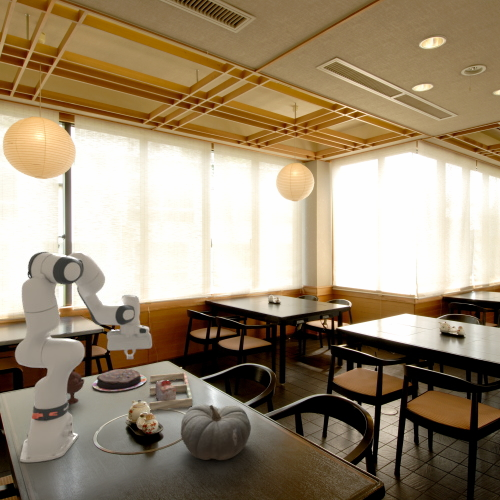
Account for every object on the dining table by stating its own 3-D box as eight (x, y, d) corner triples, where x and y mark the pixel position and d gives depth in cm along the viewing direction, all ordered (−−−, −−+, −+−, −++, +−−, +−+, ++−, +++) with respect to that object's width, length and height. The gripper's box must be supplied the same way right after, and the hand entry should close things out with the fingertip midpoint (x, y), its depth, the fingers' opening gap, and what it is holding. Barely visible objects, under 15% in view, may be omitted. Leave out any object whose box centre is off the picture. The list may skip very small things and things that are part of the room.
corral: (192, 406, 180) (192, 398, 180) (149, 411, 175) (149, 403, 175) (185, 378, 218) (185, 372, 218) (150, 381, 214) (150, 375, 214)
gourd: (172, 432, 148) (180, 388, 148) (233, 432, 157) (241, 390, 156) (184, 475, 125) (193, 423, 124) (255, 472, 134) (264, 423, 133)
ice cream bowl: (78, 406, 181) (78, 373, 181) (55, 406, 182) (54, 374, 181) (88, 397, 192) (88, 367, 192) (66, 397, 192) (65, 367, 192)
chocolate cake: (157, 380, 216) (157, 368, 216) (116, 397, 193) (116, 384, 193) (123, 372, 231) (123, 361, 231) (81, 387, 207) (80, 374, 207)
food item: (178, 404, 182) (177, 383, 182) (161, 408, 178) (161, 386, 178) (168, 395, 194) (168, 375, 194) (152, 398, 190) (152, 378, 190)
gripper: (106, 331, 178) (105, 361, 178) (152, 329, 183) (151, 359, 183) (107, 329, 185) (107, 358, 184) (152, 327, 189) (152, 355, 189)
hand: (129, 358), depth 184 cm, fingers closed
